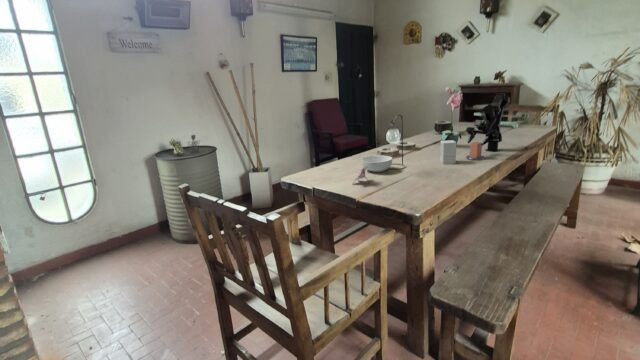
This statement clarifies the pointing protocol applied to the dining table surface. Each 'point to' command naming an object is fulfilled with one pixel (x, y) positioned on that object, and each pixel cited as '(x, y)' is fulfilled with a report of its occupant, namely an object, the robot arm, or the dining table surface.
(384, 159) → the cereal bowl
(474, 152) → the upright salmon prism
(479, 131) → the robot arm
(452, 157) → the supplement box
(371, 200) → the dining table surface
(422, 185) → the dining table surface
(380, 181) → the dining table surface
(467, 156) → the charcoal dinner plate
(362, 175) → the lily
